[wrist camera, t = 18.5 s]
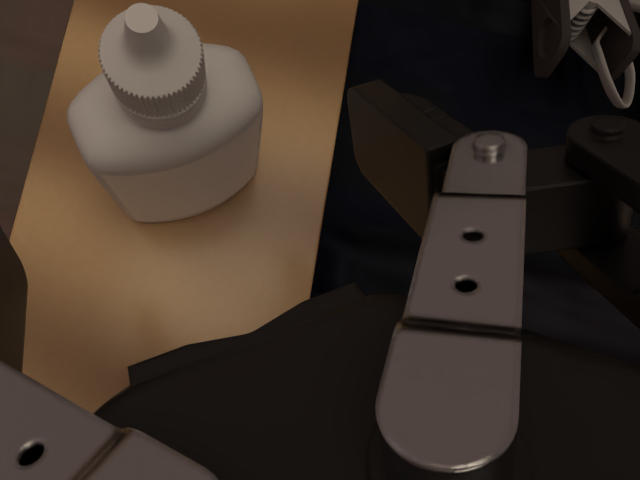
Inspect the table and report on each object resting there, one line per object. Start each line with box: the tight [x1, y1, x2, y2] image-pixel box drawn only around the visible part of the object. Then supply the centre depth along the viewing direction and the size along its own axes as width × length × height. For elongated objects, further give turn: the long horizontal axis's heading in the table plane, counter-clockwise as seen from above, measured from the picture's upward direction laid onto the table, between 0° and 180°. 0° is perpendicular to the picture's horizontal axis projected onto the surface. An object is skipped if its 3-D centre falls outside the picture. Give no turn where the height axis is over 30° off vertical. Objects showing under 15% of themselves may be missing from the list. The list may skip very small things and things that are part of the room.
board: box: [9, 0, 358, 413], centre depth 25 cm, size 20×12×1 cm, turn 171°
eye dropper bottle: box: [67, 3, 263, 223], centre depth 18 cm, size 4×6×12 cm
